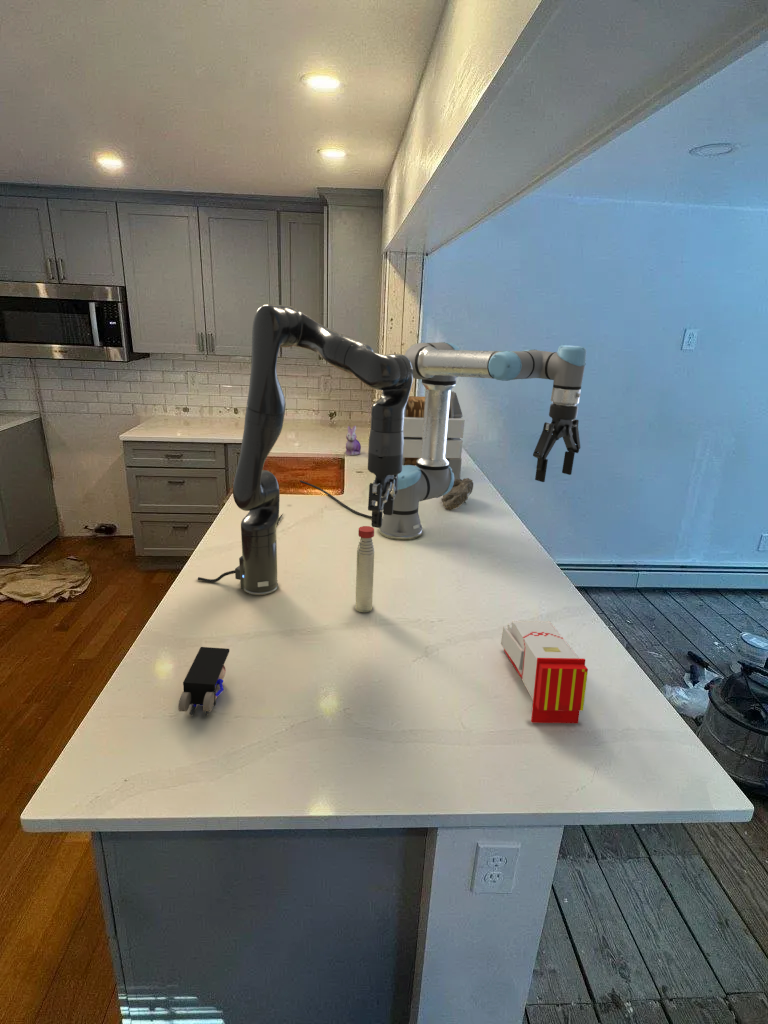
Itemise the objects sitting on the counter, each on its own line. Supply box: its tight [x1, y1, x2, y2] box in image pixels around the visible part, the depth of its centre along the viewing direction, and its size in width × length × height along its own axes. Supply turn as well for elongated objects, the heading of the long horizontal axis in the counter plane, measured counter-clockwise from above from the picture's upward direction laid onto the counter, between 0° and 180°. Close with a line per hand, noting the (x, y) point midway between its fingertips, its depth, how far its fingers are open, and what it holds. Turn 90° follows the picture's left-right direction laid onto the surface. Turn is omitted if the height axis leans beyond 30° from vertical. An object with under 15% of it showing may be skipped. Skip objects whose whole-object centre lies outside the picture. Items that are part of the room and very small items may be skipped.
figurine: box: [344, 425, 362, 456], centre depth 303 cm, size 9×10×15 cm
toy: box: [500, 620, 589, 724], centre depth 121 cm, size 12×13×30 cm
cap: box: [358, 525, 375, 539], centre depth 142 cm, size 4×4×2 cm
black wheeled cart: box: [178, 646, 230, 717], centre depth 112 cm, size 7×8×15 cm
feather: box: [276, 513, 284, 527], centre depth 210 cm, size 2×28×2 cm
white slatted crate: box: [402, 390, 465, 479], centre depth 268 cm, size 34×33×41 cm
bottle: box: [355, 537, 375, 613], centre depth 146 cm, size 4×4×22 cm
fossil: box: [440, 477, 474, 511], centre depth 233 cm, size 22×10×15 cm
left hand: (382, 520), depth 127 cm, fingers open, 8 cm apart
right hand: (553, 477), depth 165 cm, fingers open, 13 cm apart
